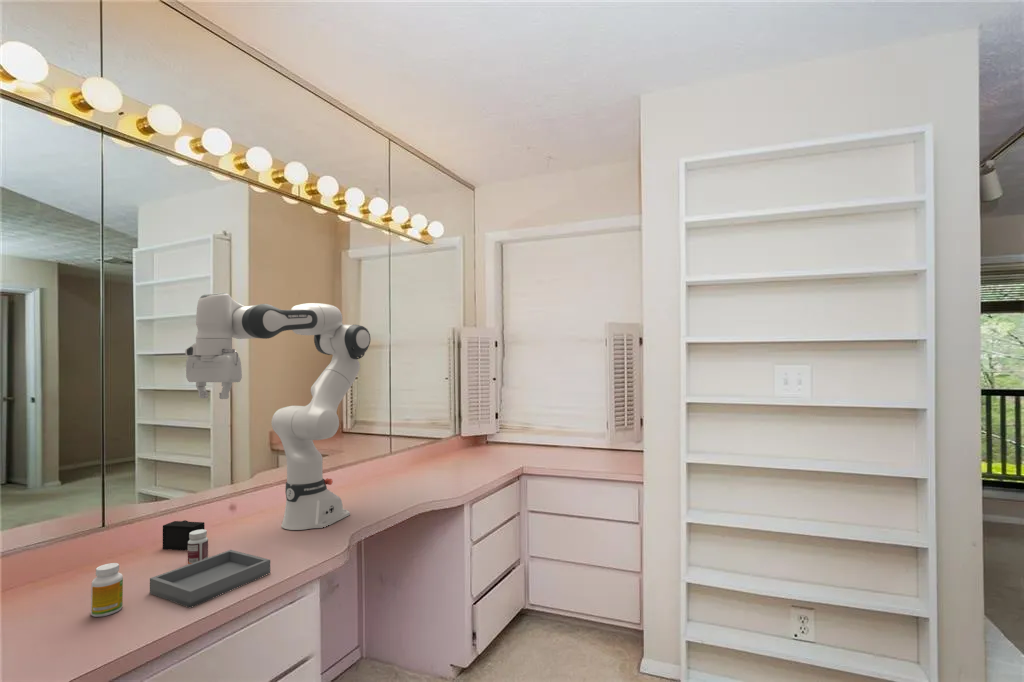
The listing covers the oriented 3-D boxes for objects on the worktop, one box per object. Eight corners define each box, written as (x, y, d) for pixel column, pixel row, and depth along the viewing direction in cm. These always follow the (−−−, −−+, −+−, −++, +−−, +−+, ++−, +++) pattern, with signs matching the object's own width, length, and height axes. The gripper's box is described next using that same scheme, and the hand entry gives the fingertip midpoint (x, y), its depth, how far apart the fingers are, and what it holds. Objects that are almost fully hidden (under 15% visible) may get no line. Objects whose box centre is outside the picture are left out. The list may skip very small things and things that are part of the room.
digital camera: (208, 544, 152) (208, 520, 152) (193, 551, 146) (193, 526, 147) (177, 542, 154) (178, 519, 154) (162, 549, 148) (162, 525, 149)
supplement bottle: (125, 610, 111) (125, 565, 112) (93, 620, 107) (94, 573, 108) (119, 603, 115) (120, 559, 115) (88, 612, 111) (89, 566, 111)
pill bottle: (204, 558, 141) (204, 527, 141) (210, 562, 138) (211, 531, 138) (184, 563, 137) (184, 532, 137) (191, 568, 134) (191, 535, 134)
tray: (230, 562, 137) (230, 549, 137) (270, 573, 130) (270, 559, 130) (149, 593, 120) (149, 578, 120) (190, 607, 112) (190, 591, 112)
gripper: (248, 348, 142) (247, 398, 141) (203, 350, 151) (203, 397, 151) (226, 348, 136) (225, 400, 136) (181, 350, 146) (180, 398, 145)
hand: (213, 398), depth 143 cm, fingers open, 8 cm apart
